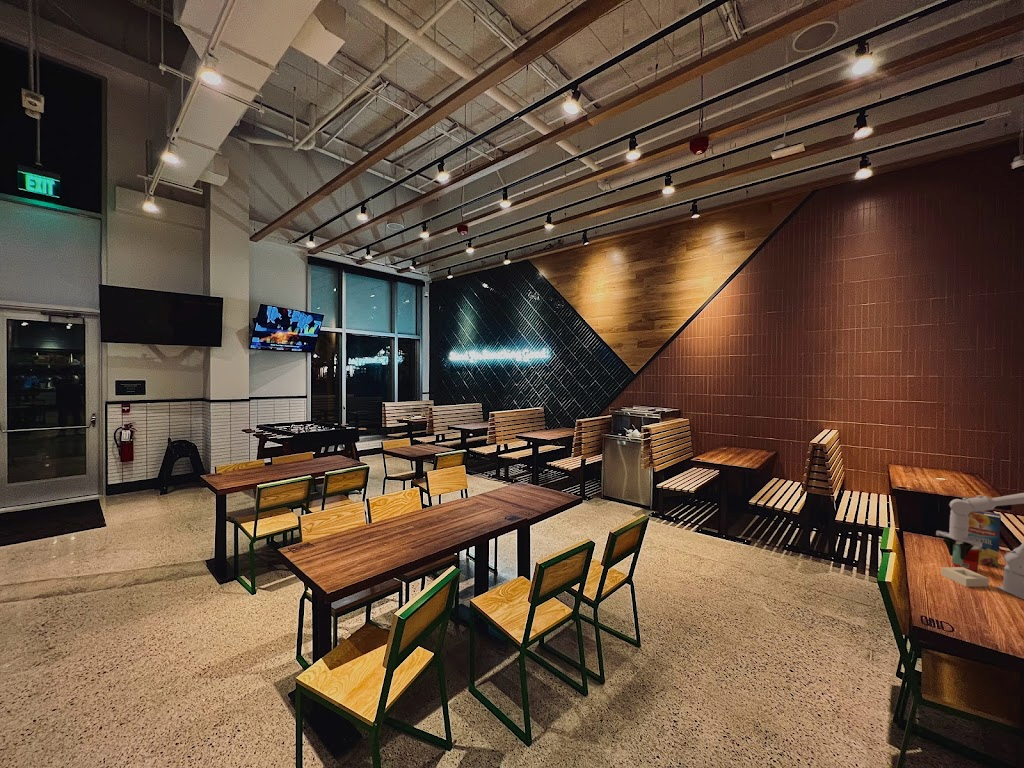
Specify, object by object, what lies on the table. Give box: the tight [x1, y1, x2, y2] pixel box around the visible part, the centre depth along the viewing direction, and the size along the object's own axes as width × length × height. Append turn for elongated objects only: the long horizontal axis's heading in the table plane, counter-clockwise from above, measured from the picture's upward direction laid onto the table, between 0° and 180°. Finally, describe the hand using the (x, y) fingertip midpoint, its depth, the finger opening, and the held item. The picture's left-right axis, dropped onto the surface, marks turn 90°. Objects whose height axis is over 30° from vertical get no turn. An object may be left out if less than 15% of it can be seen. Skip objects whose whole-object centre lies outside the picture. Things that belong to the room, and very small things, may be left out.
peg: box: [951, 544, 963, 565], centre depth 187 cm, size 3×3×8 cm
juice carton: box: [968, 511, 1002, 569], centre depth 203 cm, size 12×8×24 cm, turn 42°
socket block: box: [940, 566, 990, 588], centre depth 186 cm, size 10×10×4 cm
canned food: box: [952, 541, 980, 573], centre depth 197 cm, size 8×8×11 cm
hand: (957, 557), depth 187 cm, fingers closed on peg, 3 cm apart
